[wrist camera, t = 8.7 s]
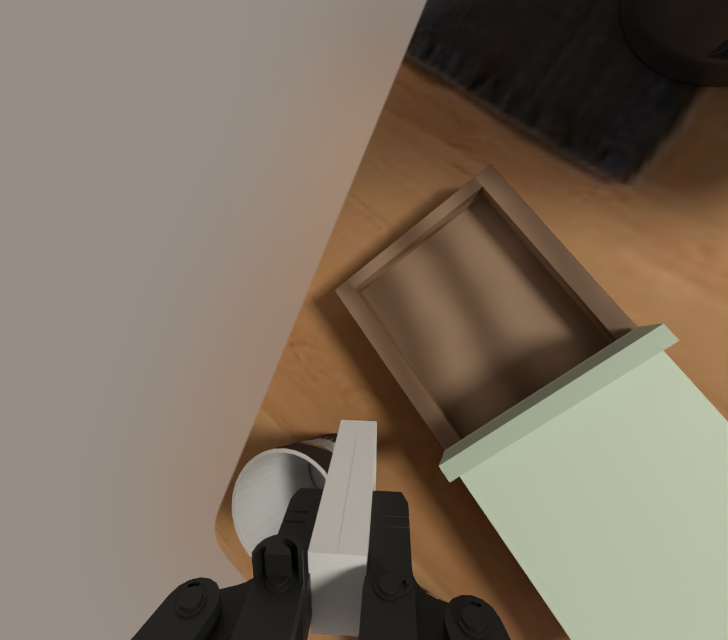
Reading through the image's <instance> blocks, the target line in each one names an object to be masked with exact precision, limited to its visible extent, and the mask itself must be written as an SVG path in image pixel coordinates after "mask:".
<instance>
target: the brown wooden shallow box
mask: <svg viewBox="0 0 728 640" xmlns="http://www.w3.org/2000/svg"><path fill="white" fill-rule="evenodd" d="M335 291H336V293H337V294H338V296H339V297H340V299H341V300H342V302H343V303H344V305H345V306H346V308H347V309H348V310H349V312H350V313H351V315H352V316H353V318H354V319H355V321H356V322H357V324H358V325H359V327H360V328H361V329H362V331H363V332H364V334H365V335H366V337H367V338H368V340H369V341H370V343H371V344H372V346H373V347H374V348H375V350H376V351H377V353H378V354H379V356H380V357H381V359H382V360H383V362H384V363H385V364H386V366H387V367H388V369H389V370H390V372H391V373H392V375H393V376H394V378H395V379H396V381H397V382H398V383H399V385H400V386H401V388H402V389H403V391H404V392H405V394H406V395H407V397H408V398H409V400H410V401H411V402H412V404H413V405H414V407H415V408H416V410H417V411H418V413H419V414H420V416H421V417H422V419H423V420H424V421H425V423H426V424H427V426H428V427H429V429H430V430H431V432H432V433H433V435H434V436H435V438H436V439H437V440H438V442H439V443H440V445H441V446H442V448H443V449H444V451H445V450H446V449H448V448H449V447H451V446H452V445H454V444H455V443H457V442H458V441H460V440H462V439H463V438H465V437H466V436H468V435H469V434H471V433H473V432H474V431H476V430H477V429H479V428H480V427H482V426H483V425H485V424H487V423H488V422H490V421H491V420H493V419H494V418H496V417H497V416H499V415H501V414H502V413H504V412H505V411H507V410H508V409H510V408H512V407H513V406H515V405H516V404H518V403H519V402H521V401H522V400H524V399H526V398H527V397H529V396H530V395H532V394H533V393H535V392H536V391H538V390H540V389H541V388H543V387H544V386H546V385H547V384H549V383H551V382H552V381H554V380H555V379H557V378H558V377H560V376H561V375H563V374H565V373H566V372H568V371H569V370H571V369H572V368H574V367H575V366H577V365H579V364H580V363H582V362H583V361H585V360H586V359H588V358H590V357H591V356H593V355H594V354H596V353H597V352H599V351H600V350H602V349H604V348H605V347H607V346H608V345H610V344H611V343H613V342H614V341H616V340H618V339H619V338H621V337H622V336H624V335H625V334H627V333H628V332H630V331H632V330H633V329H635V328H636V327H637V326H636V325H635V324H634V323H633V322H632V321H631V320H630V318H629V317H628V316H627V315H626V314H625V313H624V312H623V311H622V310H621V308H620V307H619V306H618V305H617V304H616V303H615V302H614V301H613V300H612V298H611V297H610V296H609V295H608V294H607V293H606V292H605V291H604V290H603V288H602V287H601V286H600V285H599V284H598V283H597V282H596V281H595V279H594V278H593V277H592V276H591V275H590V274H589V273H588V272H587V271H586V269H585V268H584V267H583V266H582V265H581V264H580V263H579V262H578V261H577V259H576V258H575V257H574V256H573V255H572V254H571V253H570V252H569V251H568V249H567V248H566V247H565V246H564V245H563V244H562V243H561V242H560V241H559V239H558V238H557V237H556V236H555V235H554V234H553V233H552V232H551V231H550V229H549V228H548V227H547V226H546V225H545V224H544V223H543V222H542V220H541V219H540V218H539V217H538V216H537V215H536V214H535V213H534V212H533V210H532V209H531V208H530V207H529V206H528V205H527V204H526V203H525V202H524V200H523V199H522V198H521V197H520V196H519V195H518V194H517V193H516V192H515V190H514V189H513V188H512V187H511V186H510V185H509V184H508V183H507V182H506V180H505V179H504V178H503V177H502V176H501V175H500V174H499V173H498V172H497V170H496V169H495V168H494V167H493V166H492V165H491V164H490V165H489V166H488V167H487V168H485V169H484V170H483V171H482V172H481V173H479V174H478V175H477V176H476V177H474V178H473V179H472V180H471V181H469V182H468V183H467V184H466V185H464V186H463V187H462V188H461V189H459V190H458V191H457V192H456V193H454V194H453V195H452V196H451V197H450V198H448V199H447V200H446V201H445V202H443V203H442V204H441V205H440V206H438V207H437V208H436V209H435V210H433V211H432V212H431V213H430V214H428V215H427V216H426V217H425V218H423V219H422V220H421V221H420V222H419V223H417V224H416V225H415V226H414V227H412V228H411V229H410V230H409V231H407V232H406V233H405V234H404V235H402V236H401V237H400V238H399V239H397V240H396V241H395V242H394V243H392V244H391V245H390V246H389V247H388V248H386V249H385V250H384V251H383V252H381V253H380V254H379V255H378V256H376V257H375V258H374V259H373V260H371V261H370V262H369V263H368V264H366V265H365V266H364V267H363V268H362V269H360V270H359V271H358V272H357V273H355V274H354V275H353V276H352V277H350V278H349V279H348V280H347V281H345V282H344V283H343V284H342V285H340V286H339V287H338V288H337V289H335Z"/></svg>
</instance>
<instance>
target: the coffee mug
mask: <svg viewBox="0 0 728 640" xmlns="http://www.w3.org/2000/svg"><path fill="white" fill-rule="evenodd" d="M337 435H338V434H329V435H325V436H321V437H318V438H314V439H310V440H306V441H302V442H298V443H294V444H290V445H286V446H282V447H279V448H275V449H271V450H267V451H264V452H262V453H260V454H258V455H256V456H255V457H254V458H252V459H251V460H250V461H249V462H248V463H247V464H246V465H245V467H244V468H243V469H242V471H241V472H240V474H239V476H238V478H237V480H236V483H235V486H234V490H233V495H232V517H233V522H234V526H235V530H236V533H237V535H238V538H239V540H240V542H241V544H242V545H243V547H244V549H245V550H246V552H247V553H248V554H249V555H250V557H251V558H252V551H253V550H254V548H255V547H256V545H257V544H259V543H260V542H261V541H262V540H264V539H265V538H267V537H270V536H272V535H277V534H278V532H279V529H280V526H281V523H282V522H283V518H284V515H285V513H286V510H287V507H288V504H289V501H290V499H291V497H292V496H293V495H294V494H295V493H296V492H297V491H298V490H299V489H300V488H314V489H324V486H325V482H326V478H327V474H328V470H329V467H330V463H331V459H332V455H333V451H334V447H335V443H336V439H337Z"/></svg>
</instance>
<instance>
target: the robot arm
mask: <svg viewBox="0 0 728 640" xmlns="http://www.w3.org/2000/svg"><path fill="white" fill-rule="evenodd" d="M621 23H622V27H623V31H624V34H625V37H626V39H627V41H628V43H629V45H630V47H631V48H632V50H633V51H634V52H635V54H636V55H637V56H638V57H639V58H640V59H641V60H642V61H643V62H644V63H645V64H647V65H648V66H649V67H650V68H652V69H653V70H655V71H657V72H659V73H660V74H662V75H664V76H667V77H669V78H672V79H674V80H677V81H681V82H685V83H689V84H695V85H703V86H728V0H621ZM376 445H377V421H355V420H341V423H340V427H339V431H338V435H337V439H336V443H335V447H334V451H333V455H332V459H331V463H330V467H329V470H328V474H327V478H326V482H325V486H324V489H314V488H300V489H299V490H298V491H297V492H296V493H295V494H294V495H293V496H292V497H291V499H290V501H289V504H288V507H287V510H286V513H285V515H284V518H283V522H282V523H281V526H280V529H279V532H278V534H277V535H272V536H270V537H267V538H265V539H264V540H262V541H261V542H260V543H259V544H257V545H256V547H255V548H254V550H253V551H252V564H253V575H254V578H252V579H251V580H249V581H247V582H245V583H242V584H239V585H236V586H232V587H227V588H223V589H219V587H218V585H217V583H216V582H214V581H213V580H211V579H208V578H196V579H192V580H189V581H187V582H185V583H183V584H181V585H179V586H178V587H177V588H176V589H175V590H174V591H173V592H172V593H171V594H170V595H169V596H168V597H167V598H166V599H165V600H164V602H163V603H162V604H161V605H160V606H159V607H158V609H157V610H156V611H155V612H154V614H152V616H151V617H150V618H149V619H148V620H147V622H146V623H145V624H144V625H143V626H142V627H141V629H140V630H139V631H138V632H137V633H136V635H135V636H134V637H133V638H132V639H131V640H307V638H308V633H309V628H310V623H311V633H318V634H330V635H343V636H355V637H359V638H358V640H511V639H510V637H509V635H508V633H507V631H506V629H505V627H504V625H503V623H502V621H501V619H500V617H499V616H498V615H497V613H496V612H495V610H494V609H493V608H492V607H491V606H490V605H489V604H488V603H486V602H485V601H484V600H482V599H480V598H477V597H475V596H472V595H460V596H458V597H455V598H453V599H452V600H451V601H450V602H449V603H447V602H445V601H442V600H440V599H437V598H435V597H433V596H431V595H429V594H428V593H426V592H425V591H424V590H423V589H421V587H420V586H419V585H418V583H417V582H416V580H415V578H414V576H413V572H412V562H411V545H410V529H409V509H408V502H407V501H406V499H405V497H404V496H403V494H402V492H390V491H375V486H376Z"/></svg>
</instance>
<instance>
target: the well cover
mask: <svg viewBox="0 0 728 640" xmlns="http://www.w3.org/2000/svg"><path fill="white" fill-rule="evenodd" d="M678 341H679V340H678V339H677V337H676V336H675V335H674V334H673V333H672V332H671V331H670V330H669V329H668V328H667V327H666V326H665V324H656V325H649V326H641V327H636V328H635V329H633V330H632V331H630V332H628V333H627V334H625V335H624V336H622V337H621V338H619V339H618V340H616V341H614V342H613V343H611V344H610V345H608V346H607V347H605V348H604V349H602V350H600V351H599V352H597V353H596V354H594V355H593V356H591V357H590V358H588V359H586V360H585V361H583V362H582V363H580V364H579V365H577V366H575V367H574V368H572V369H571V370H569V371H568V372H566V373H565V374H563V375H561V376H560V377H558V378H557V379H555V380H554V381H552V382H551V383H549V384H547V385H546V386H544V387H543V388H541V389H540V390H538V391H536V392H535V393H533V394H532V395H530V396H529V397H527V398H526V399H524V400H522V401H521V402H519V403H518V404H516V405H515V406H513V407H512V408H510V409H508V410H507V411H505V412H504V413H502V414H501V415H499V416H497V417H496V418H494V419H493V420H491V421H490V422H488V423H487V424H485V425H483V426H482V427H480V428H479V429H477V430H476V431H474V432H473V433H471V434H469V435H468V436H466V437H465V438H463V439H462V440H460V441H458V442H457V443H455V444H454V445H452V446H451V447H449V448H448V449H446V450H445V451H444V453H443V456H442V459H441V461H440V464H439V468H440V469H441V471H442V472H443V473H444V475H445V476H446V478H447V479H448V481H449V482H451V481H453V480H454V479H456V478H458V477H459V476H460V478H461V479H462V481H463V482H464V484H465V485H466V487H467V488H468V490H469V491H470V493H471V494H472V496H473V497H474V498H475V500H476V501H477V503H478V504H479V506H480V507H481V509H482V510H483V512H484V513H485V515H486V516H487V517H488V519H489V520H490V522H491V523H492V525H493V526H494V528H495V529H496V531H497V532H498V534H499V535H500V537H501V538H502V539H503V541H504V542H505V544H506V545H507V547H508V548H509V550H510V551H511V553H512V554H513V556H514V557H515V559H516V560H517V561H518V563H519V564H520V566H521V567H522V569H523V570H524V572H525V573H526V575H527V576H528V578H529V579H530V580H531V582H532V583H533V585H534V586H535V588H536V589H537V591H538V592H539V594H540V595H541V597H542V598H543V600H544V601H545V602H546V604H547V605H548V607H549V608H550V610H551V611H552V613H553V614H554V616H555V617H556V619H557V620H558V622H559V623H560V624H561V626H562V627H563V629H564V630H565V632H566V633H567V635H568V636H569V638H570V639H571V640H728V422H727V420H726V419H725V418H724V417H723V416H722V415H721V414H720V413H719V412H718V411H717V409H716V408H715V407H714V406H713V405H712V404H711V403H710V402H709V401H708V399H707V398H706V397H705V396H704V395H703V394H702V393H701V392H700V391H699V389H698V388H697V387H696V386H695V385H694V384H693V383H692V382H691V381H690V379H689V378H688V377H687V376H686V375H685V374H684V373H683V372H682V371H681V370H680V368H679V367H678V366H677V365H676V364H675V363H674V362H673V361H672V360H671V358H670V357H669V356H668V355H667V354H666V353H665V352H664V351H663V350H665V349H667V348H668V347H670V346H671V345H673V344H675V343H676V342H678Z"/></svg>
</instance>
